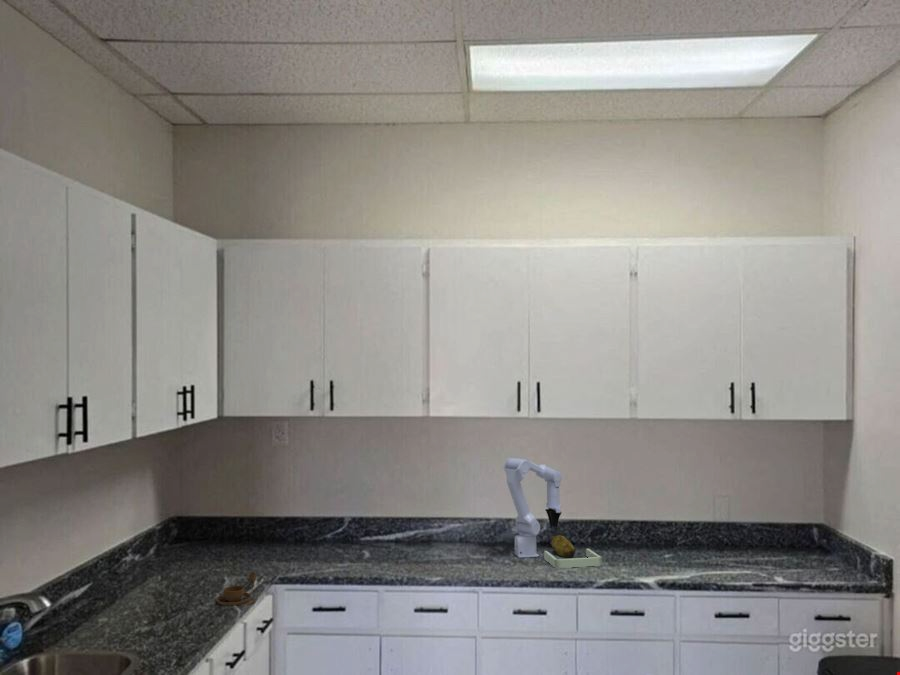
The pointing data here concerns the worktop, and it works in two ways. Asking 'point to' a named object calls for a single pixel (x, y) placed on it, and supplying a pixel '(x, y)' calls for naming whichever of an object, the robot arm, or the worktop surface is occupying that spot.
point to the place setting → (237, 594)
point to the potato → (562, 546)
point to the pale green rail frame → (574, 560)
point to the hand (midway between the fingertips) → (553, 525)
